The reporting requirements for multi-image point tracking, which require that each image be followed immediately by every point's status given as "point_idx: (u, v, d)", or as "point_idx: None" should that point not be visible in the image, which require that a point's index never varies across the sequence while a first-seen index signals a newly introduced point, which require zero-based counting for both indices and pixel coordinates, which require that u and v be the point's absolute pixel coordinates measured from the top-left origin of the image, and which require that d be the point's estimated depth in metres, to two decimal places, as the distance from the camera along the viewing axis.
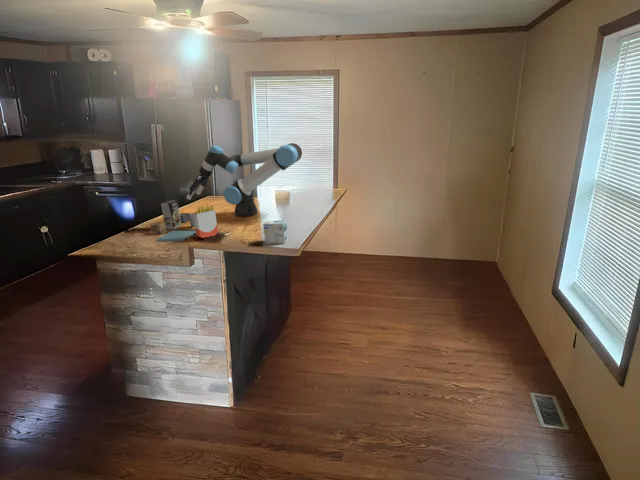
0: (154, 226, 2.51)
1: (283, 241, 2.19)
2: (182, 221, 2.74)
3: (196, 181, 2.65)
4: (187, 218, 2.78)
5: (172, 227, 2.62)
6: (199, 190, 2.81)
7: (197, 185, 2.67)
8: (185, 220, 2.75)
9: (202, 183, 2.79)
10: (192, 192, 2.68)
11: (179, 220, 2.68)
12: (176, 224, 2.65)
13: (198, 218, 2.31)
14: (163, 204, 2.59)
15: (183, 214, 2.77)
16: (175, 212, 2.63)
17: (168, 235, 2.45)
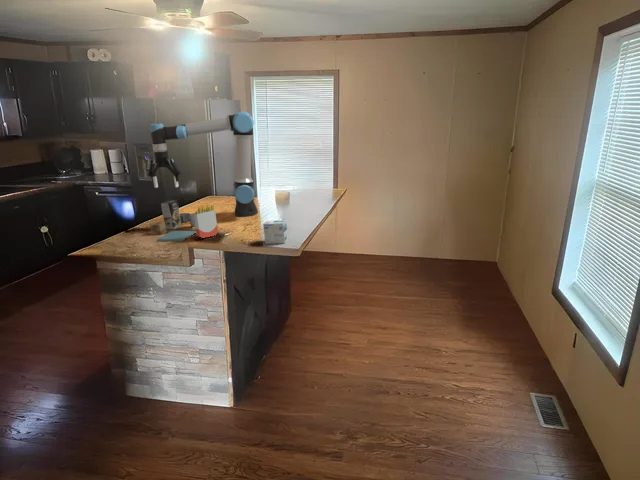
0: (154, 226, 2.51)
1: (283, 241, 2.19)
2: (182, 221, 2.74)
3: (174, 164, 2.54)
4: (187, 218, 2.77)
5: (172, 227, 2.62)
6: (155, 182, 2.60)
7: None
8: (185, 220, 2.75)
9: (155, 173, 2.58)
10: None
11: (179, 220, 2.68)
12: (176, 224, 2.65)
13: (198, 218, 2.31)
14: (163, 204, 2.59)
15: (183, 214, 2.77)
16: (175, 212, 2.63)
17: (168, 235, 2.45)
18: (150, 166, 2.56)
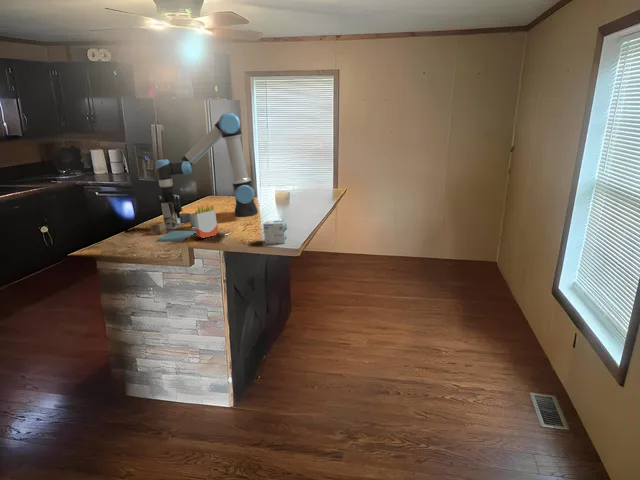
0: (154, 226, 2.51)
1: (283, 241, 2.19)
2: (181, 221, 2.74)
3: (178, 201, 2.61)
4: (187, 218, 2.77)
5: (172, 227, 2.62)
6: None
7: (176, 205, 2.63)
8: (184, 220, 2.75)
9: None
10: None
11: None
12: (176, 224, 2.64)
13: (198, 218, 2.31)
14: (163, 204, 2.59)
15: (183, 214, 2.77)
16: (175, 212, 2.63)
17: (168, 235, 2.45)
18: None
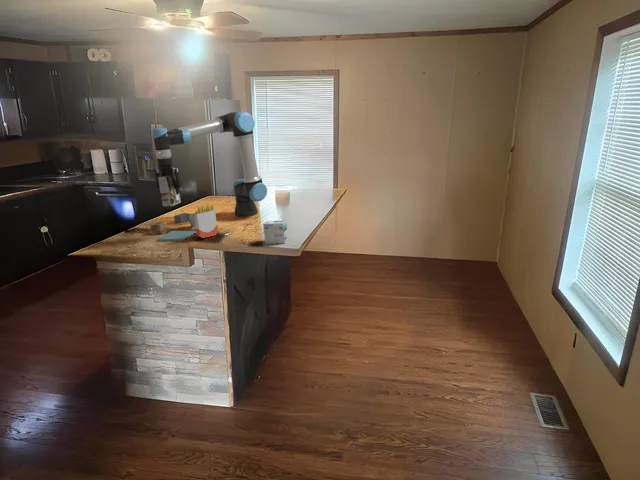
0: (154, 226, 2.51)
1: (283, 241, 2.19)
2: (180, 221, 2.74)
3: (178, 175, 2.34)
4: (186, 218, 2.77)
5: (170, 204, 2.36)
6: None
7: (175, 179, 2.37)
8: (183, 220, 2.75)
9: None
10: None
11: None
12: (175, 200, 2.38)
13: (198, 218, 2.31)
14: (160, 178, 2.32)
15: (183, 214, 2.77)
16: (174, 187, 2.37)
17: (168, 235, 2.45)
18: None
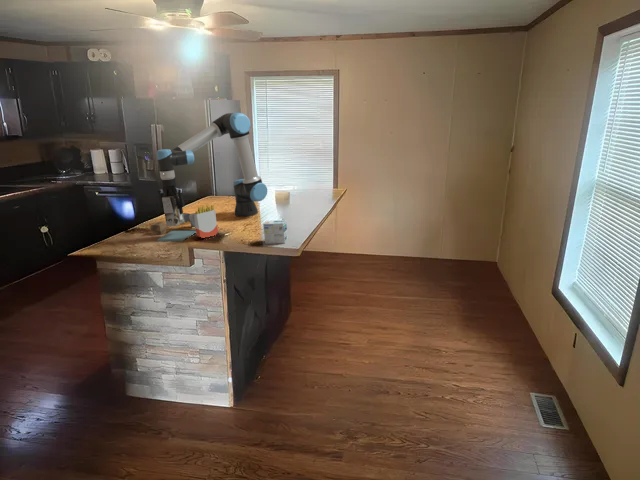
0: (154, 226, 2.51)
1: (283, 241, 2.19)
2: None
3: (181, 195, 2.37)
4: (186, 219, 2.76)
5: (174, 224, 2.38)
6: None
7: None
8: None
9: None
10: None
11: (182, 216, 2.44)
12: (178, 220, 2.41)
13: (198, 218, 2.31)
14: (164, 198, 2.35)
15: (183, 214, 2.77)
16: (177, 207, 2.39)
17: (168, 235, 2.45)
18: (159, 197, 2.39)
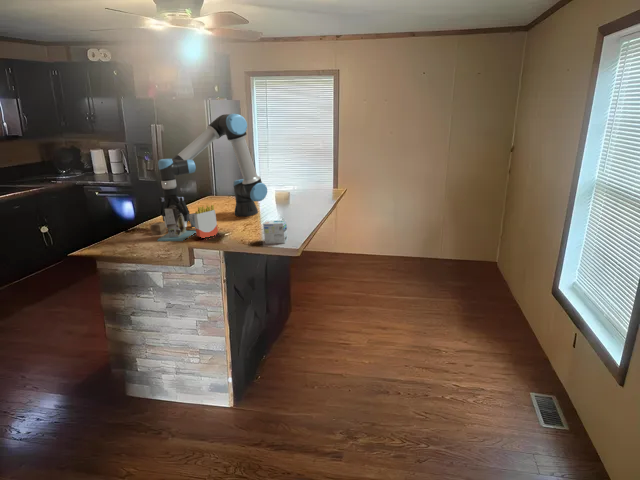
0: (154, 226, 2.51)
1: (283, 241, 2.19)
2: None
3: (184, 203, 2.38)
4: None
5: (176, 235, 2.40)
6: None
7: (182, 207, 2.41)
8: None
9: None
10: None
11: None
12: (181, 231, 2.43)
13: (198, 218, 2.31)
14: (167, 210, 2.37)
15: None
16: (180, 218, 2.41)
17: (168, 235, 2.45)
18: None
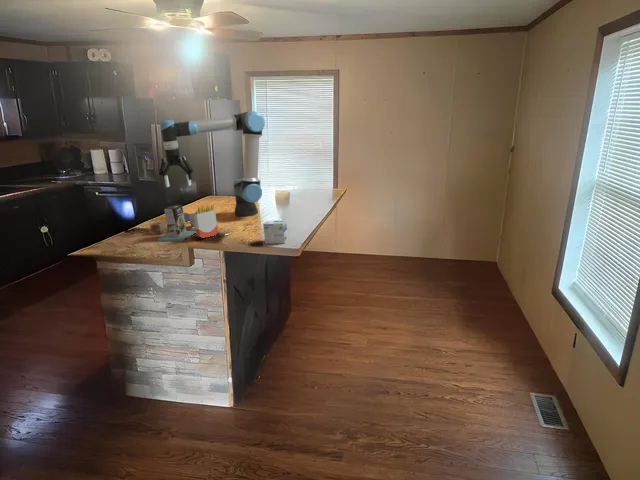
0: (154, 226, 2.51)
1: (283, 241, 2.19)
2: None
3: (186, 162, 2.45)
4: (185, 219, 2.76)
5: (176, 235, 2.40)
6: (167, 181, 2.51)
7: None
8: None
9: (166, 172, 2.49)
10: None
11: (184, 227, 2.46)
12: (181, 231, 2.43)
13: (198, 218, 2.31)
14: (166, 210, 2.37)
15: None
16: (179, 218, 2.41)
17: (168, 235, 2.45)
18: (161, 165, 2.47)
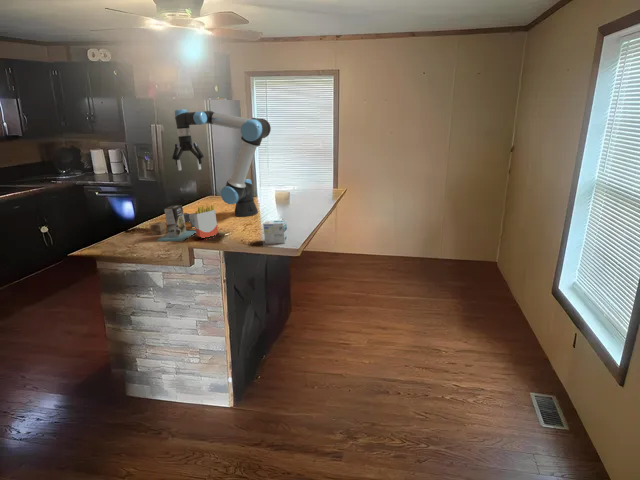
0: (154, 226, 2.51)
1: (283, 241, 2.19)
2: None
3: (197, 148, 2.70)
4: (185, 219, 2.76)
5: (176, 235, 2.40)
6: (179, 165, 2.75)
7: (196, 152, 2.72)
8: None
9: (179, 156, 2.74)
10: None
11: (184, 227, 2.46)
12: (181, 231, 2.43)
13: (198, 218, 2.31)
14: (166, 210, 2.37)
15: None
16: (179, 218, 2.41)
17: (168, 235, 2.45)
18: (174, 150, 2.72)
